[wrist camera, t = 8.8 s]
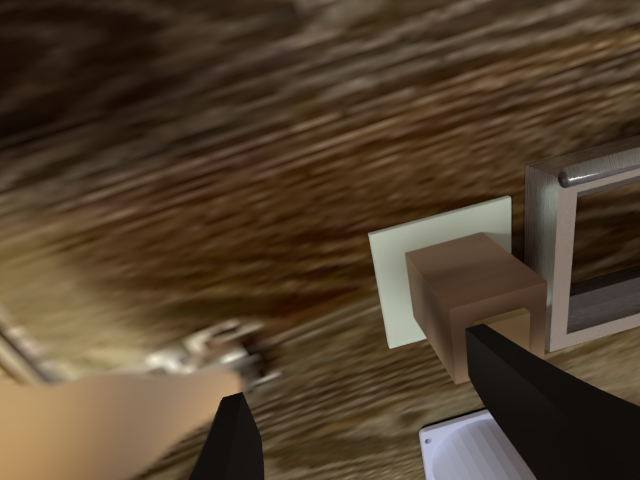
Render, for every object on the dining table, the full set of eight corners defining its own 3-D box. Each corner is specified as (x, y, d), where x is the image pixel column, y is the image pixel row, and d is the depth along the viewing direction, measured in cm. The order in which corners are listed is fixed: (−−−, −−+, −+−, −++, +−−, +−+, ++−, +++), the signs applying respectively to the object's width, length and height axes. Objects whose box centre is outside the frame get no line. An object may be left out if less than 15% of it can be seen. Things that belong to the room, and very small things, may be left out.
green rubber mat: (508, 311, 26) (511, 314, 25) (388, 345, 25) (389, 348, 25) (508, 195, 22) (511, 197, 22) (368, 233, 22) (369, 235, 21)
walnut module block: (484, 297, 24) (549, 364, 19) (413, 317, 24) (459, 390, 19) (481, 231, 22) (553, 286, 17) (404, 252, 22) (453, 314, 17)
